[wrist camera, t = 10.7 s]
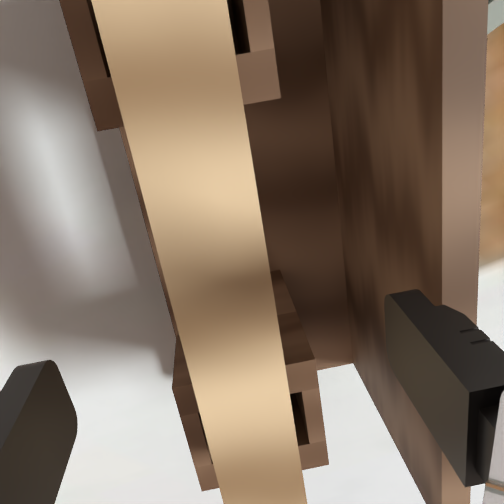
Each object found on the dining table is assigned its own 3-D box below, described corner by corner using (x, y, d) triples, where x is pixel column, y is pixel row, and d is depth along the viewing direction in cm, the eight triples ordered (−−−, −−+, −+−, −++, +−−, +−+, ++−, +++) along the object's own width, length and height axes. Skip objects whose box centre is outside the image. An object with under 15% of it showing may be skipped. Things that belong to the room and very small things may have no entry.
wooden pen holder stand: (76, -61, 22) (-107, -250, 9) (324, -102, 22) (500, -341, 9) (192, 376, 32) (187, 589, 19) (361, 342, 32) (469, 527, 19)
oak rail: (130, 5, 17) (81, -38, 10) (210, -8, 17) (216, -60, 10) (220, 389, 24) (228, 522, 17) (276, 378, 24) (307, 505, 17)
